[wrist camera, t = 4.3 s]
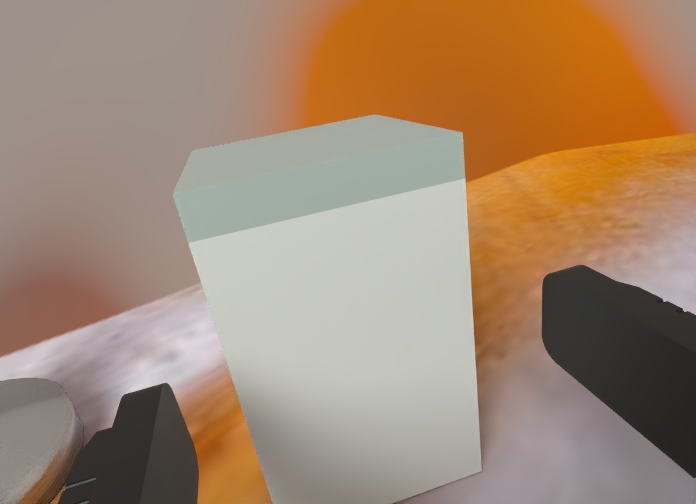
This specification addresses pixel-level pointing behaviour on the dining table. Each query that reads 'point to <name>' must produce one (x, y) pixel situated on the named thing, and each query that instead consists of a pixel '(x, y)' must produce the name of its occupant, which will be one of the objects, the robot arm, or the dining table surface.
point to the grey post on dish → (36, 440)
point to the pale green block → (342, 304)
